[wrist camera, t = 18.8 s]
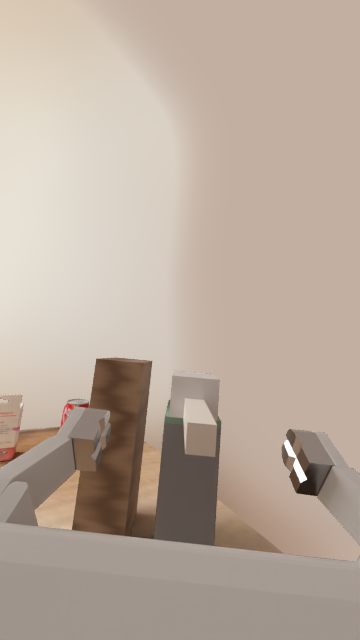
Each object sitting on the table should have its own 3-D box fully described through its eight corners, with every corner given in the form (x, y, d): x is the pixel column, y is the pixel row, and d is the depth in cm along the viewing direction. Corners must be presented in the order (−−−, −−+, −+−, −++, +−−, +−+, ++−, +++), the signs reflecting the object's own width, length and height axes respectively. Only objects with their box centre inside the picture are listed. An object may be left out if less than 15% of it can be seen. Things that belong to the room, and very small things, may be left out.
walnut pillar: (67, 561, 29) (96, 358, 33) (96, 508, 39) (115, 357, 43) (121, 567, 29) (143, 363, 33) (136, 512, 39) (152, 361, 43)
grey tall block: (147, 605, 25) (165, 416, 28) (156, 533, 35) (169, 399, 38) (210, 611, 25) (221, 421, 28) (201, 538, 34) (210, 403, 38)
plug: (237, 459, 18) (240, 393, 18) (162, 451, 18) (168, 387, 18) (208, 404, 36) (210, 373, 37) (171, 401, 36) (174, 370, 37)
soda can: (51, 448, 59) (58, 401, 61) (70, 439, 66) (77, 397, 68) (72, 454, 57) (80, 405, 59) (90, 444, 64) (96, 400, 66)
